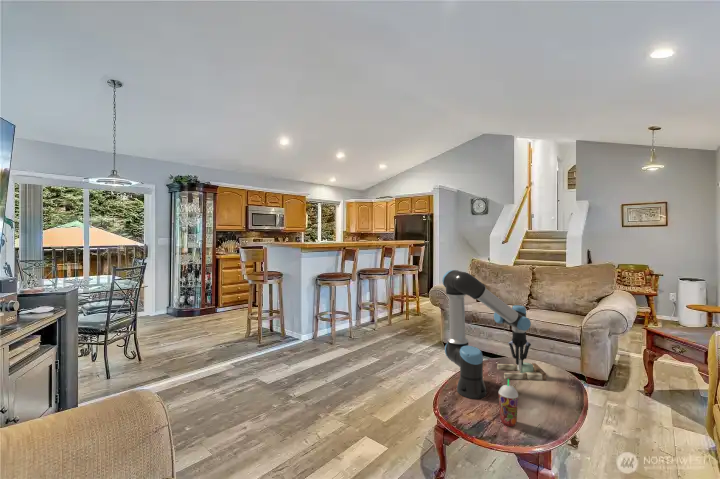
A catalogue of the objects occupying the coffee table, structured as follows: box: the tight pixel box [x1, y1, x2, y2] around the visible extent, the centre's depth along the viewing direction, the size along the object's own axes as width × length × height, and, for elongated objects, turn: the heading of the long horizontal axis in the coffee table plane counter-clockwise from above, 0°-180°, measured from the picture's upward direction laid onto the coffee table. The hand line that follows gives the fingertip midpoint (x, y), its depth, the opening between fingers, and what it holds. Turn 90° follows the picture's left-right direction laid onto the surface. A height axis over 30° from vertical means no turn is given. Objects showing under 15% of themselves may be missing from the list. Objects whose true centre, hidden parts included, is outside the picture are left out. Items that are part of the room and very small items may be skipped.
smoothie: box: [497, 379, 519, 427], centre depth 153 cm, size 8×8×20 cm
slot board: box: [496, 362, 547, 381], centre depth 205 cm, size 23×15×4 cm, turn 84°
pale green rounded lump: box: [519, 361, 533, 373], centre depth 204 cm, size 7×7×6 cm
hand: (519, 369), depth 205 cm, fingers closed
